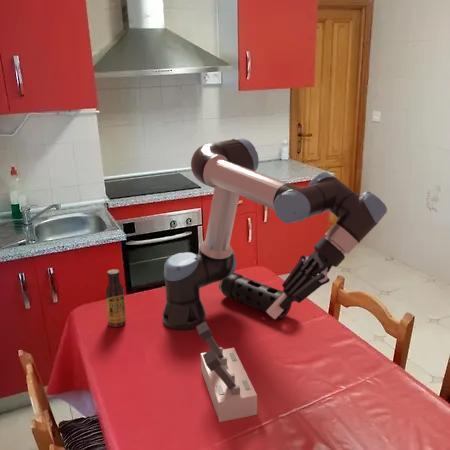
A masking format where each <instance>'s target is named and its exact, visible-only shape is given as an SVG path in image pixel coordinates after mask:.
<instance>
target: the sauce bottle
mask: <svg viewBox="0 0 450 450" xmlns="http://www.w3.org/2000/svg"><path fill="white" fill-rule="evenodd" d="M120 274H121V273H120V270H119V269H117V268H115V269H114V268H113V269H109V270H107V272H106V275H107V281H108V285H107V287H106V289H105V301H106V302H105V304H106V316H107V317H106V319H107V323H108V325H109V326H110V327H112V328H116V327H117V328H119V327H121V326H123V325H125V324H126V318H127V317H126V302H125V292H124V286H123V285H122V284H121V280H120Z"/></svg>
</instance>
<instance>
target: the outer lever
mask: <svg viewBox="0 0 450 450" xmlns="http://www.w3.org/2000/svg"><path fill="white" fill-rule="evenodd" d="M206 352H207V353H206ZM206 352H204V353H205V354H204V355H203V357H204V360H205V363H206V365H207V367H208V368H209V369H210V370H211V372H212V371H213V370H214V371H215V372H216V373H217V375H218V376H219V377H220V378H221V379H222V381H223V382H224V383H225V384H226V386H227V387H228V388H229V389H230V390H231V389H232V387H235V386H236V385H235V382H234V380H233V378H232V376H231V375H230V374H229V373H228V371H227V370H226V369H225V368H224V366H223V365H222V364H221V362H220V360H219V357H218V355H217V354H216V352H215V351H214V350H213V349H211V348H210V350H208V351H206Z"/></svg>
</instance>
